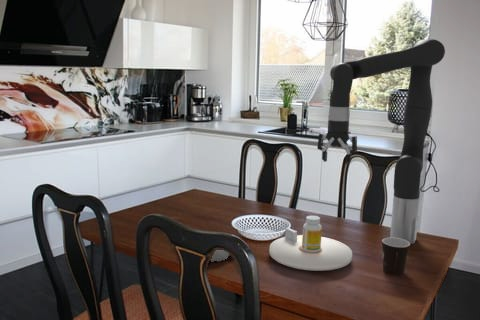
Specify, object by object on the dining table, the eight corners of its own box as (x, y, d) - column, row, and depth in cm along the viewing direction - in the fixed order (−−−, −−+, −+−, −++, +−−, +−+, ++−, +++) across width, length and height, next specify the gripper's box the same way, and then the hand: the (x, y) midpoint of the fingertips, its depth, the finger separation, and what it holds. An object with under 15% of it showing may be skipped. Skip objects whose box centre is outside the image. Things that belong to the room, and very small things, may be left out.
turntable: (315, 234, 184) (316, 221, 183) (369, 260, 160) (370, 245, 159) (253, 247, 170) (254, 233, 169) (303, 277, 146) (304, 261, 145)
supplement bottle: (298, 248, 165) (299, 216, 163) (310, 244, 169) (312, 213, 167) (312, 254, 160) (313, 221, 158) (324, 249, 164) (326, 218, 162)
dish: (197, 265, 158) (197, 251, 157) (190, 250, 171) (190, 236, 170) (239, 261, 162) (240, 247, 161) (229, 246, 175) (229, 233, 174)
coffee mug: (386, 263, 162) (388, 235, 160) (411, 270, 157) (414, 241, 155) (371, 274, 153) (373, 245, 151) (397, 282, 148) (400, 252, 146)
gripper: (360, 119, 175) (357, 162, 178) (323, 116, 182) (320, 158, 185) (355, 121, 169) (352, 166, 172) (316, 118, 175) (314, 162, 178)
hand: (336, 162), depth 178 cm, fingers open, 8 cm apart
